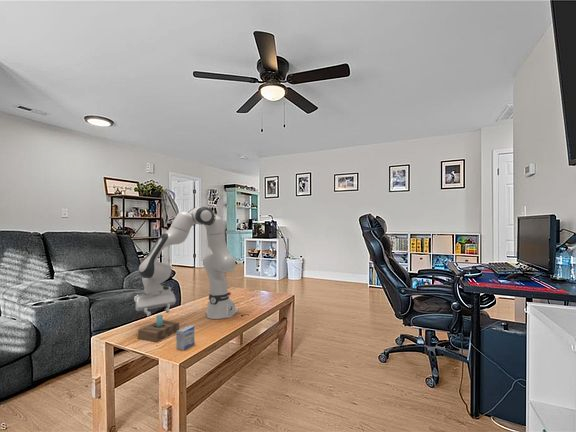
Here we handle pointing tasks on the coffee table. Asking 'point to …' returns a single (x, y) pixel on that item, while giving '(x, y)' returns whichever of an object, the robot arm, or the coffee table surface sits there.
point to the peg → (159, 321)
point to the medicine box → (185, 337)
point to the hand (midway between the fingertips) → (158, 313)
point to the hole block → (158, 331)
